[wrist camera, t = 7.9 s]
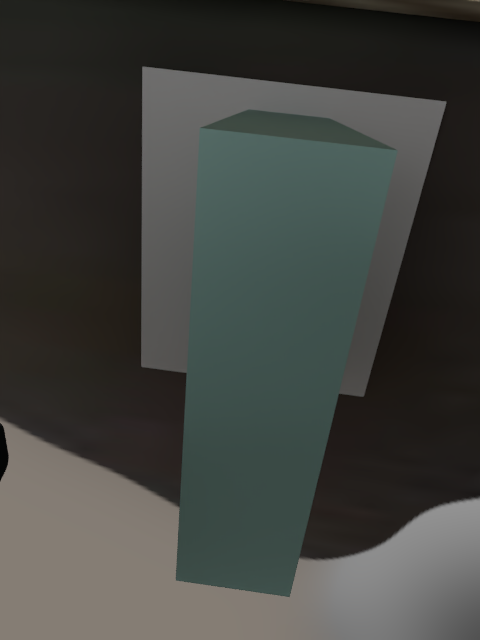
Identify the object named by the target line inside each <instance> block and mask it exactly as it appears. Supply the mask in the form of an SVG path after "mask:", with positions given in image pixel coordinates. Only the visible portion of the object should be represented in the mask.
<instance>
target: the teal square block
mask: <svg viewBox="0 0 480 640" xmlns="http://www.w3.org/2000/svg"><path fill="white" fill-rule="evenodd" d="M397 152H398V150H396V149H394V148H392V147H390V146H388V145H385V144H383V143H381V142H379V141H377V140H375V139H373V138H371V137H368V136H366V135H364V134H362V133H360V132H358V131H356V130H354V129H351V128H349V127H347V126H345V125H343V124H341V123H339V122H337V121H334V120H332V119H330V118H323V117H314V116H305V115H296V114H287V113H278V112H269V111H260V110H251V109H248V110H245V111H243V112H240V113H238V114H235V115H232V116H230V117H227V118H224V119H222V120H219V121H217V122H214V123H211V124H209V125H206V126H204V127H201V128H200V132H199V151H198V170H197V189H196V208H195V227H194V246H193V265H192V284H191V303H190V322H189V341H188V360H187V379H186V398H185V417H184V436H183V454H182V473H181V492H180V511H179V531H178V549H177V550H178V551H177V568H176V569H177V570H176V580H177V581H184V582H191V583H198V584H205V585H211V586H218V587H225V588H232V589H239V590H246V591H253V592H260V593H266V594H274V595H280V596H287V597H289V596H290V593H291V589H292V584H293V581H294V576H295V572H296V568H297V564H298V560H299V556H300V552H301V548H302V543H303V539H304V535H305V531H306V527H307V523H308V519H309V515H310V510H311V506H312V502H313V498H314V494H315V490H316V486H317V482H318V477H319V473H320V469H321V465H322V461H323V457H324V453H325V449H326V444H327V440H328V436H329V432H330V428H331V424H332V420H333V416H334V411H335V407H336V403H337V399H338V395H339V391H340V387H341V383H342V378H343V374H344V370H345V366H346V362H347V358H348V354H349V350H350V346H351V341H352V337H353V333H354V329H355V325H356V321H357V317H358V313H359V308H360V304H361V300H362V296H363V292H364V288H365V284H366V280H367V275H368V271H369V267H370V263H371V259H372V255H373V251H374V247H375V242H376V238H377V234H378V230H379V226H380V222H381V218H382V214H383V209H384V205H385V201H386V197H387V193H388V189H389V185H390V181H391V176H392V172H393V168H394V164H395V160H396V156H397Z"/></svg>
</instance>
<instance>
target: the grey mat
mask: <svg viewBox="0 0 480 640" xmlns="http://www.w3.org/2000/svg"><path fill="white" fill-rule="evenodd" d="M445 106H446V101H437V100H428V99H420V98H411V97H402V96H394V95H385V94H376V93H368V92H359V91H350V90H342V89H333V88H324V87H315V86H307V85H298V84H289V83H281V82H272V81H263V80H255V79H246V78H237V77H229V76H220V75H211V74H203V73H194V72H185V71H177V70H168V69H159V68H151V67H142V299H141V367H146V368H154V369H161V370H169V371H176V372H183V373H187V360H188V341H189V322H190V303H191V284H192V265H193V246H194V227H195V208H196V189H197V170H198V151H199V132H200V128H201V127H204V126H206V125H209V124H211V123H214V122H217V121H219V120H222V119H224V118H227V117H230V116H232V115H235V114H238V113H240V112H243V111H245V110H248V109H251V110H260V111H269V112H278V113H287V114H296V115H305V116H314V117H323V118H330V119H332V120H334V121H337V122H339V123H341V124H343V125H345V126H347V127H349V128H351V129H354V130H356V131H358V132H360V133H362V134H364V135H366V136H368V137H371V138H373V139H375V140H377V141H379V142H381V143H383V144H385V145H388V146H390V147H392V148H394V149H396V150H398V152H397V156H396V160H395V164H394V168H393V172H392V176H391V181H390V185H389V189H388V193H387V197H386V201H385V205H384V209H383V214H382V218H381V222H380V226H379V230H378V234H377V238H376V242H375V247H374V251H373V255H372V259H371V263H370V267H369V271H368V275H367V280H366V284H365V288H364V292H363V296H362V300H361V304H360V308H359V313H358V317H357V321H356V325H355V329H354V333H353V337H352V341H351V346H350V350H349V354H348V358H347V362H346V366H345V370H344V374H343V378H342V383H341V387H340V391H339V394H346V395H353V396H361V397H364V394H365V390H366V387H367V383H368V380H369V376H370V372H371V369H372V365H373V362H374V358H375V355H376V351H377V348H378V344H379V340H380V337H381V333H382V330H383V326H384V323H385V319H386V316H387V312H388V308H389V305H390V301H391V298H392V294H393V291H394V287H395V284H396V280H397V276H398V273H399V269H400V266H401V262H402V259H403V255H404V252H405V248H406V244H407V241H408V237H409V234H410V230H411V227H412V223H413V220H414V216H415V213H416V209H417V205H418V202H419V198H420V195H421V191H422V188H423V184H424V181H425V177H426V173H427V170H428V166H429V163H430V159H431V156H432V152H433V149H434V145H435V141H436V138H437V134H438V131H439V127H440V124H441V120H442V117H443V113H444V109H445Z"/></svg>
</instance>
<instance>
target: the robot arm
mask: <svg viewBox="0 0 480 640" xmlns="http://www.w3.org/2000/svg"><path fill="white" fill-rule="evenodd" d="M7 465H8V450H7V444H6V438H5V432H4V428H3V426H2V424H1V423H0V481H1V478H2V476H3V474H4V472H5V470H6V468H7Z"/></svg>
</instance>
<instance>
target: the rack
mask: <svg viewBox="0 0 480 640" xmlns="http://www.w3.org/2000/svg"><path fill="white" fill-rule="evenodd" d="M284 1H294V2H303V3H312V4H321V5H330V6H339V7H348V8H357V9H366V10H375V11H385V12H394V13H403V14H412V15H421V16H430V17H439V18H448V19H457V20H466V21H476V22H480V0H284Z"/></svg>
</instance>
